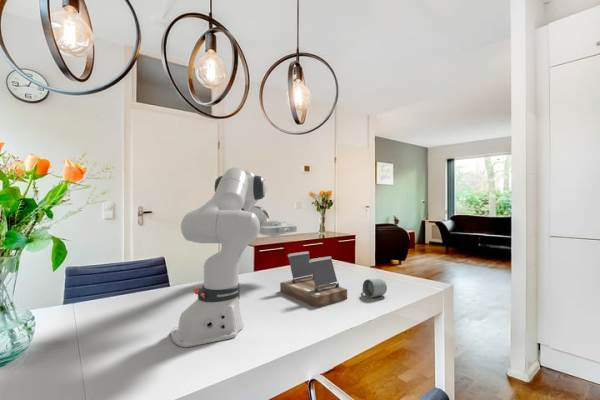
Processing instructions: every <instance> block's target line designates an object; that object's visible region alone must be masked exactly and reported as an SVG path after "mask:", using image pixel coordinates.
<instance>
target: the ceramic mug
mask: <svg viewBox="0 0 600 400" xmlns="http://www.w3.org/2000/svg"><path fill="white" fill-rule="evenodd" d="M387 290H388V286H387V284H386V281H385V280H383V279H382V278H368V279H365V280H364V281H363V283H362V289H361V291H362V293H363V294H364V295H365V296H366V297H367V298H369V299H370V298H377V297H380V296H384V295H385V294H386V293H387Z"/></svg>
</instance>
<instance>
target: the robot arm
mask: <svg viewBox="0 0 600 400" xmlns="http://www.w3.org/2000/svg"><path fill="white" fill-rule="evenodd" d="M267 186H268V185H267V183H266V180H265V179H264V177H263V176H260V175H257V174H256V175H255V174H254V173H253V172H252V171H251V170H249V169H241V168H239V167H230V168H229V169H227V170H226V171H225V172H224V173H223V175H221V176H218V177H217V178H216V179H215V183H214V189H213V190H214V194H213V196H212V197H211V198H210V200H209V201H207V202H206V203H205V204H203V205H202V206H200V207H198V208H196V209H194V210H193V211H192V210H191V211H190V212H187V213H186V214H185V215H184V216H183V218H182V219H181V224H180V231H181V234H182V236H183V238H184V239H185V240H186V241H187V242H192V243H198V244H221V249H220V251H218V252H216V253H215V254H212V255H210V256H209V257H208V258H207V259H206V260H205V262H204V263H203V286H201V288H199V287H198V286H195V287H193V289H192V292H193V293H194V294H195V295H197V299H196V300H195V301H193V302H192V304H190V305H189V306H188V307H187V308H186V309H185V310H184V311H183V312H182V313H181V314H180V315H179V320H178V326H177V327H174V328H172V330H171V331H170V338H171V340H172V342H173V343H174V344H175V345H177V346H179V347H182V348H190V347H194V346H200V345H204V344H209V343H215V342H219V341H223V340H228V339H233V338H236V337H237V336H238V333H239V332H240V331H241V330H242V329H243V328H244V322H243V318H242V315H241V307H240V296H241V290H240V288H241V287H240V283H239V268H240V260H241V257H242V254H243V253H244V251H245V250H246V248H247V247H248V246H249V245H250V244H251V243H252V242H254V241H255V240H256V239H257V237H258V236H259V235H261V236H267V237H272V238H275V237H279V236H282V235H286V234H287V233H288V234H289V233H296V232H297V231H298V230H297V225H296V224H293V223H288V222H286V221H278V220H273V219H270V216H269V214H268V212H267V210H266V209H264V208H263V207H262V206H257V205H256V203H257V202H258V201H259V200H263V198H264V197H265V196H266V193H267V191H268V190H267V189H268V188H267Z"/></svg>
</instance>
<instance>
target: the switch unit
mask: <svg viewBox="0 0 600 400" xmlns="http://www.w3.org/2000/svg"><path fill="white" fill-rule="evenodd" d="M279 285H280V292H281V293H283V294H285V295H288V296H290V297H293V298H294V299H297V300H299V301H302V302H304V303H306V304H308V305H310V306H312V307H315V308H319V307H323V306H326V305H329V304H333V303H337V302H340V301H344V300H348V289H347V288H344V287H342V286H340V284H339V281H337V282H333V283H329V284H325V285H321V286H316V287H315V283H314V279H313V275H309V276H304V277H299V278H294V279H293V278H292V279H291V280H287V281H282V282H279Z"/></svg>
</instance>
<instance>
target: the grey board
mask: <svg viewBox="0 0 600 400" xmlns="http://www.w3.org/2000/svg"><path fill="white" fill-rule="evenodd" d="M287 257H288V261H289V267H290V271H291V276H292V279H297V278H302V277H307V276H312V270H311V266H310V263H309V260H311V258H310V252H309V251H308V250H307V251H300V252H293V253H288V254H287Z"/></svg>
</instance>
